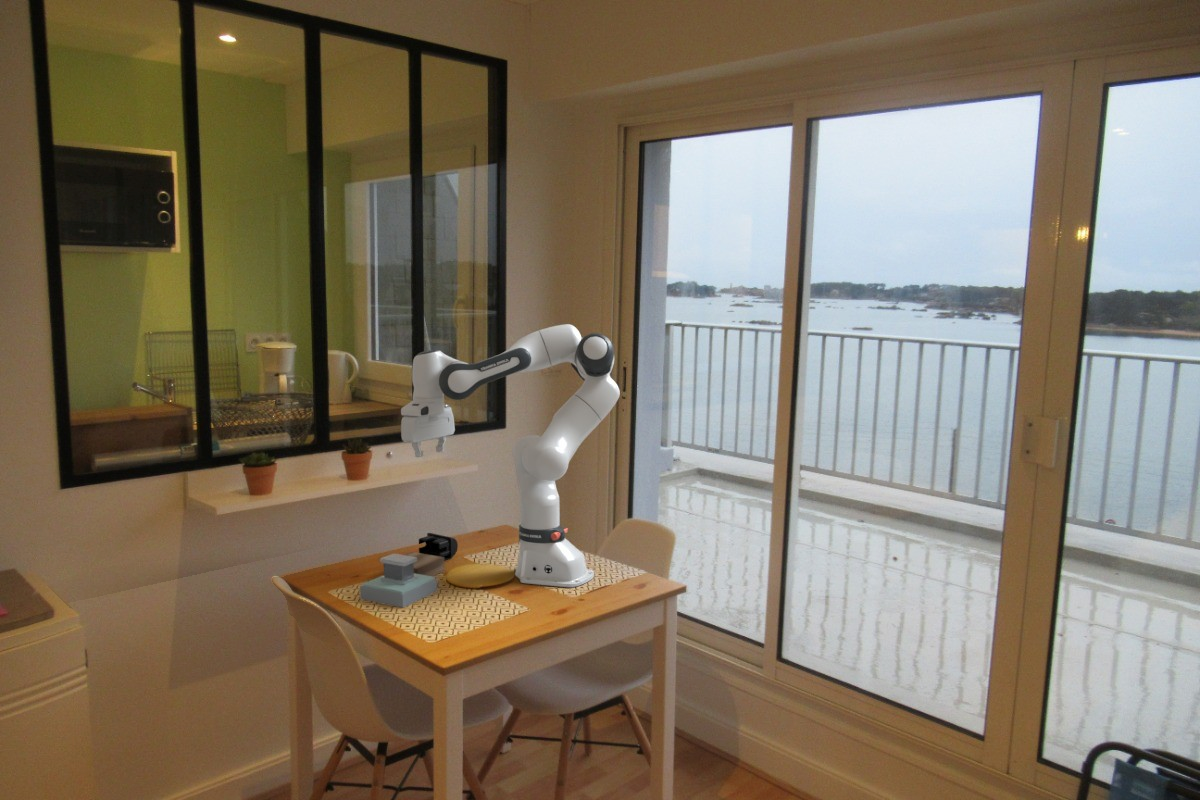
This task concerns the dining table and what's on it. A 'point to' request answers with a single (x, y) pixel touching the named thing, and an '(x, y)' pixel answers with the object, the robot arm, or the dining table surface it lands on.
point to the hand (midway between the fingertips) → (429, 454)
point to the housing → (398, 569)
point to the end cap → (439, 546)
